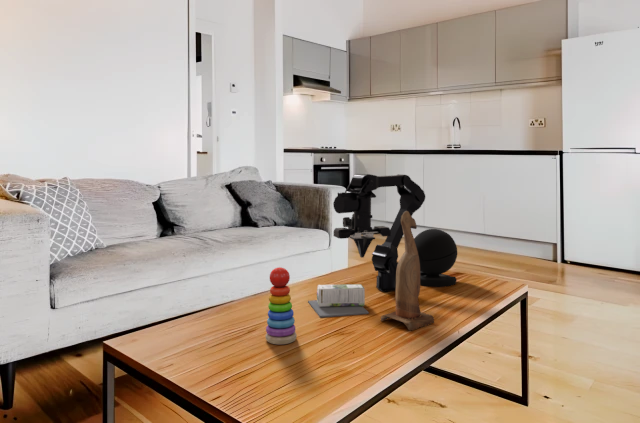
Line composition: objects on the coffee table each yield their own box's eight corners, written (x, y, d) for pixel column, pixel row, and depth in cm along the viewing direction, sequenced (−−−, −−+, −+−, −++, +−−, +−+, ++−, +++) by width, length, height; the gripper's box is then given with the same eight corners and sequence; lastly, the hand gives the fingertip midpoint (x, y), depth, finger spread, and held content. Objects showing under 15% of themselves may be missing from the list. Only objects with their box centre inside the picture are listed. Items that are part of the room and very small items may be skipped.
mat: (352, 299, 163) (352, 297, 163) (368, 313, 147) (368, 312, 147) (308, 302, 159) (308, 300, 159) (320, 317, 144) (320, 315, 144)
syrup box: (361, 301, 159) (316, 302, 157) (361, 283, 158) (316, 284, 157) (365, 306, 153) (318, 307, 151) (365, 287, 152) (318, 288, 151)
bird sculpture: (436, 324, 139) (440, 211, 137) (410, 332, 131) (414, 213, 129) (404, 315, 148) (408, 208, 145) (378, 322, 140) (381, 210, 137)
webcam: (465, 284, 182) (467, 230, 180) (426, 289, 176) (428, 233, 174) (437, 274, 198) (438, 225, 196) (400, 278, 192) (401, 227, 190)
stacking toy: (301, 336, 128) (301, 265, 126) (289, 347, 121) (289, 272, 119) (273, 333, 131) (272, 263, 129) (260, 343, 123) (259, 270, 121)
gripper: (377, 208, 175) (377, 251, 177) (328, 210, 170) (328, 254, 171) (391, 211, 165) (391, 257, 166) (339, 213, 159) (339, 260, 161)
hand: (362, 257), depth 167 cm, fingers closed
